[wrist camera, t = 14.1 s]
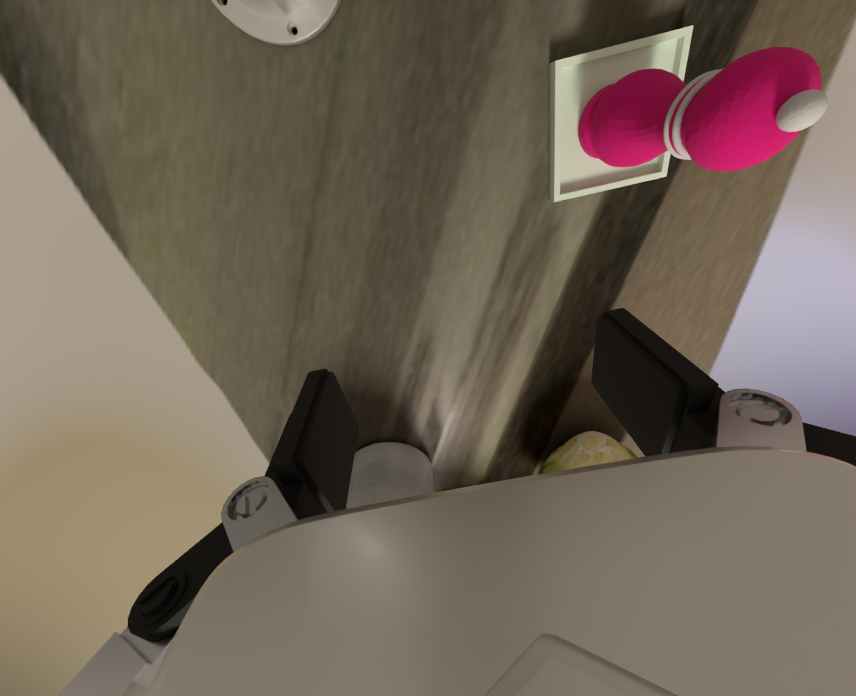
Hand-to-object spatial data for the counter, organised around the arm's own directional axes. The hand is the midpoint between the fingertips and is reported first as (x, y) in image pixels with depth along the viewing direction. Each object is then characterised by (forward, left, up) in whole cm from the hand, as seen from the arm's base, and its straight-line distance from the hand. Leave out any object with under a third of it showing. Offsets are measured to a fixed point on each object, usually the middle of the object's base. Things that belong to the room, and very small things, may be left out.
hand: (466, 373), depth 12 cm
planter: (+43, -16, -31) cm, 55 cm away
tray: (-4, +20, -30) cm, 37 cm away
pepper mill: (-4, +20, -30) cm, 36 cm away
